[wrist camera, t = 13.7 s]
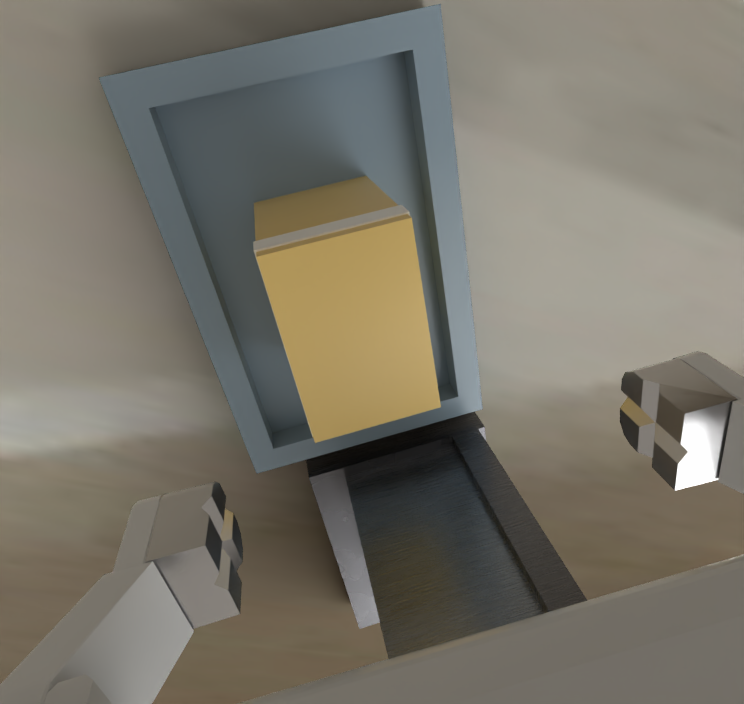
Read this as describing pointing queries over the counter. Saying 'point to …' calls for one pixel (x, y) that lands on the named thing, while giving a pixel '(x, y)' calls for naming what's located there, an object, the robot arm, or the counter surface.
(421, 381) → the fuse block
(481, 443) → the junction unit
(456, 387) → the tray
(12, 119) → the counter surface
